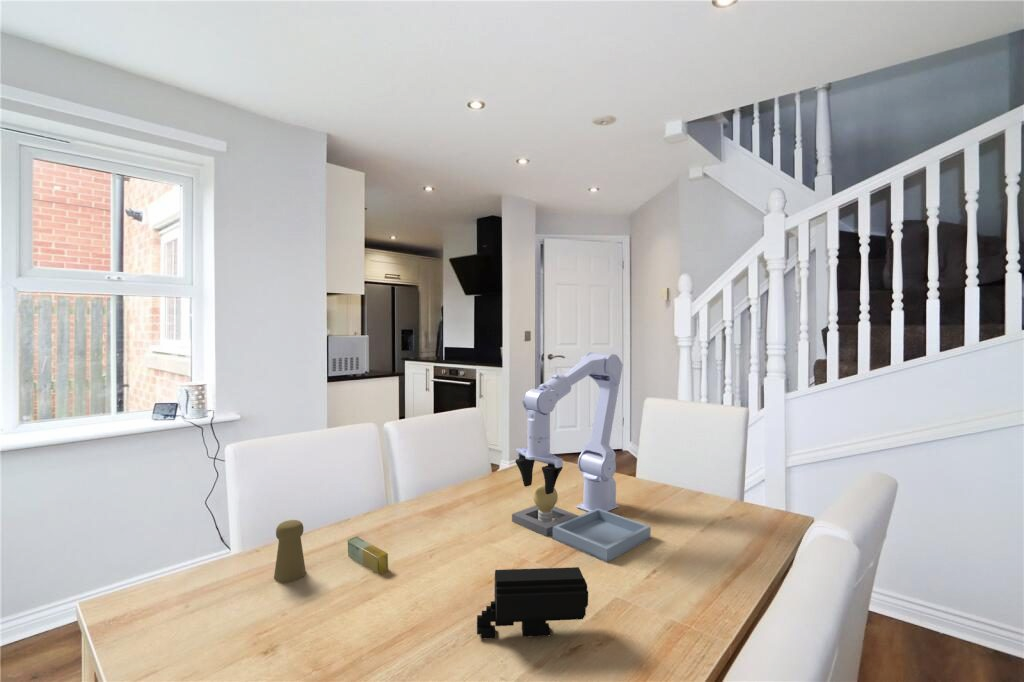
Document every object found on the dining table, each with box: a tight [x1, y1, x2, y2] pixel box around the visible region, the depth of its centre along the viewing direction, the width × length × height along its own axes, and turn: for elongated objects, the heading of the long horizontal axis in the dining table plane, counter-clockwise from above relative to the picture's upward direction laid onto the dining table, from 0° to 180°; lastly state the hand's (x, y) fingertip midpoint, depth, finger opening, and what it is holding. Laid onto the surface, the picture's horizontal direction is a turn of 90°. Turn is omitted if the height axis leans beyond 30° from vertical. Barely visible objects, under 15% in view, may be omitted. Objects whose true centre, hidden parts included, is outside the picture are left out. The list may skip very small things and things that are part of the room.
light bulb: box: [532, 483, 559, 523], centre depth 129 cm, size 6×6×10 cm
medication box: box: [347, 535, 389, 575], centre depth 107 cm, size 12×3×4 cm, turn 49°
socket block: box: [511, 504, 580, 538], centre depth 129 cm, size 12×12×2 cm
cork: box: [273, 519, 307, 583], centre depth 101 cm, size 6×6×11 cm
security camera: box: [476, 566, 589, 639], centre depth 83 cm, size 7×18×10 cm, turn 95°
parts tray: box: [552, 508, 652, 563], centre depth 120 cm, size 18×16×3 cm
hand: (538, 489), depth 125 cm, fingers open, 7 cm apart
